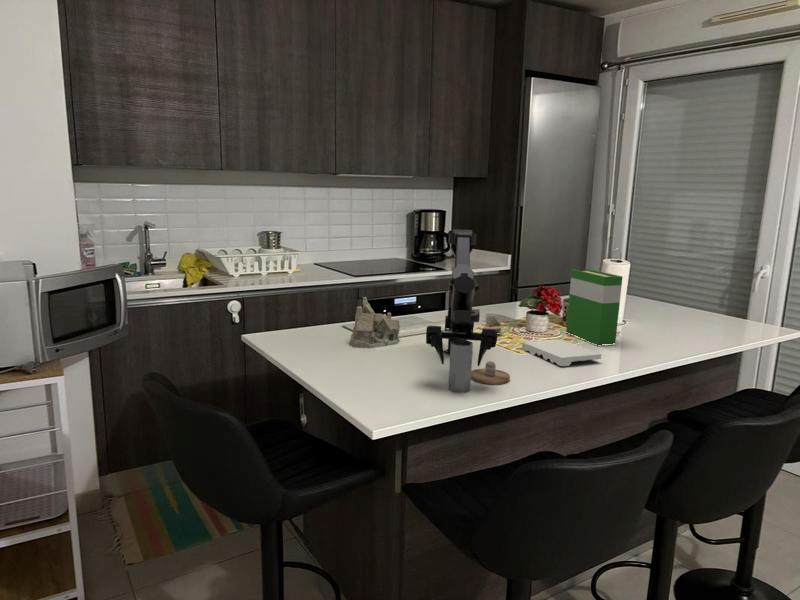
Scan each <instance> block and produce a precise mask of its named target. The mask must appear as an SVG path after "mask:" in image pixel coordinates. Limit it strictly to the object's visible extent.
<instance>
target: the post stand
mask: <svg viewBox="0 0 800 600" xmlns="http://www.w3.org/2000/svg"><path fill="white" fill-rule="evenodd" d="M496 367H497V366H496V363H495V361H492V360H489V361H487V362H486V363H485V366H484V368H477V369H473V370H471V380H472V381H474V382H475V383H479V384H483V385H489V386H495V385H496V386H497V385H498V386H499V385H505V384H508V383H509V382H510V381H511V375H510V373H507V372H506V371H503V370H500V369H497V368H496Z"/></svg>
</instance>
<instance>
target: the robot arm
mask: <svg viewBox="0 0 800 600" xmlns="http://www.w3.org/2000/svg"><path fill="white" fill-rule="evenodd" d="M448 233H449V234H448V235H449V236H448V245H450V251H451V253H452V255H453V256H454V268H453V270H452V271H451V278H448V292H450V295H452V297H451V305H450V307H449V308H448V309H447V310H448V311H447V315H445V318H444V330H442V326H441V325H427V327H426V331H425V332H426V333H425V344H427V345H430V346H431V348H434V349H435V351H436V352H437V354H438V358H439V359H440V363H441V364H442V365H445V355H444V353H446V354H449V355H450V346H451V341H453V340H467V341H478V342H480V344H479V349H478V351H479V352H478V357H477V361H476V362H477V367H480V365H481V363H482V360H483V359H484V355H485V354H486V352H487V351H490V350H491V349H493V348H495V347H496V346H497V342H498V335H499V334H497V330H496V329H489V328H483V327H482V329H481V332H474V327H475V326H474V325H475V323H480V309H479V308H478V309H475V308H473V301H474V296H475V293H477V291H479V289H480V287H479V284H478V282H477V279H475V272H474V270H472V269H471V265H470V264H471V262H470V261H471V259H470V257H471V253H472V252H473V249H474V246H476V244H477V233H475V232H473V229H457V228H456V229H453V230H452V231H451V232H448ZM444 339H445V340H447V348H446V349H444V343H443V340H444Z"/></svg>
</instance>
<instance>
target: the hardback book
mask: <svg viewBox="0 0 800 600" xmlns="http://www.w3.org/2000/svg"><path fill="white" fill-rule="evenodd" d="M570 273H571V274H570V275H571V276H570V285H569V287H570V288H569V295H568V296H569V297H568V306H567V317H566V329H565V333H566V332H568V333H570V334H573V335H576V336H578V337H580V338H583V339H585V340H587V341H589V342H591V343H594V344H597V345H602V344H613V343H615V344H616V342H617V332H618V323H619V312H620V304H621V295H622V285H623V276H622V275H617V274H613V273H609V272H603V271H600V270H599V271H598V270H595V269H590V268H586V270H578V269H575V268H574V269H573V268H572V269H571V272H570ZM591 343H590V344H591Z"/></svg>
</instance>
